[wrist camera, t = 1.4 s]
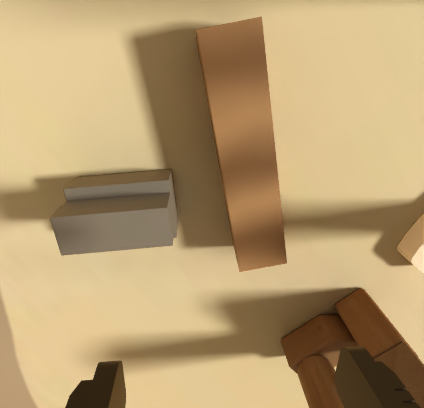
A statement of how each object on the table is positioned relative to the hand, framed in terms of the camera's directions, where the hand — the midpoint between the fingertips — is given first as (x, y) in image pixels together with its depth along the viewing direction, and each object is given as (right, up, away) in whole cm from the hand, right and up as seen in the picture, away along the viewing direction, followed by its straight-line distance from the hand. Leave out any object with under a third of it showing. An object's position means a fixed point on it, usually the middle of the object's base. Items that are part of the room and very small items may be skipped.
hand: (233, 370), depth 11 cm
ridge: (-8, +6, +16) cm, 19 cm away
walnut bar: (+2, +11, +15) cm, 18 cm away
